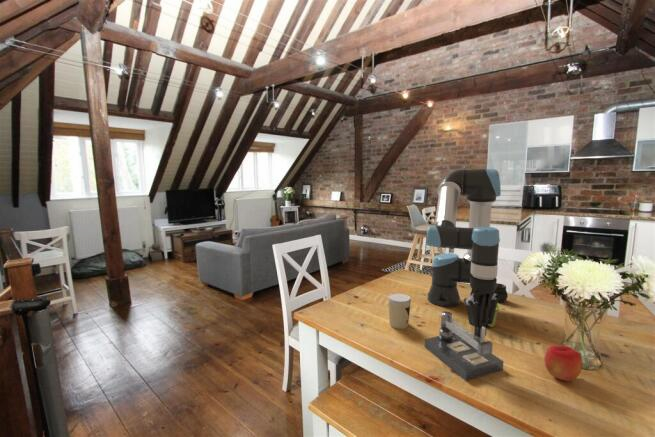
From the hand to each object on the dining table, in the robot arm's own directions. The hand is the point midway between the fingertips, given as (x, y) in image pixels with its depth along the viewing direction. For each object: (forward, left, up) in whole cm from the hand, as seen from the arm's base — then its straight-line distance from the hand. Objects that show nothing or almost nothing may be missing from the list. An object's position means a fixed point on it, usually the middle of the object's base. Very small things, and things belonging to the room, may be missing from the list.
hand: (479, 345), depth 101 cm
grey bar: (+3, -5, 0) cm, 5 cm away
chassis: (+2, -5, -7) cm, 9 cm away
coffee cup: (+9, -33, -7) cm, 35 cm away
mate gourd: (-50, -36, -7) cm, 62 cm away
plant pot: (-25, -20, -7) cm, 33 cm away
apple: (-19, +14, -7) cm, 24 cm away
